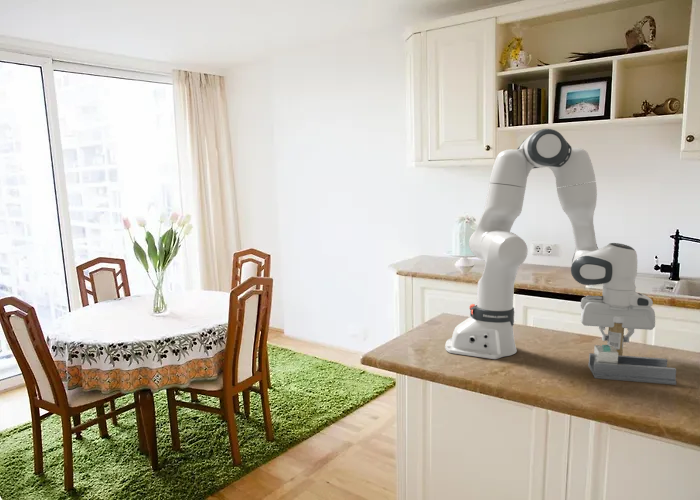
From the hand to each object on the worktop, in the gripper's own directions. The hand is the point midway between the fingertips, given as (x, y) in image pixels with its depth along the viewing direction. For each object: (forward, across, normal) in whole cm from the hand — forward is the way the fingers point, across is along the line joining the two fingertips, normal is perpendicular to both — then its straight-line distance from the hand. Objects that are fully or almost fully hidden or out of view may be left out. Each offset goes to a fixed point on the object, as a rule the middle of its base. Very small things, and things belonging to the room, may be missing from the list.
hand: (615, 341), depth 160 cm
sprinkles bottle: (+5, 0, 0) cm, 5 cm away
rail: (+5, +1, -14) cm, 15 cm away
